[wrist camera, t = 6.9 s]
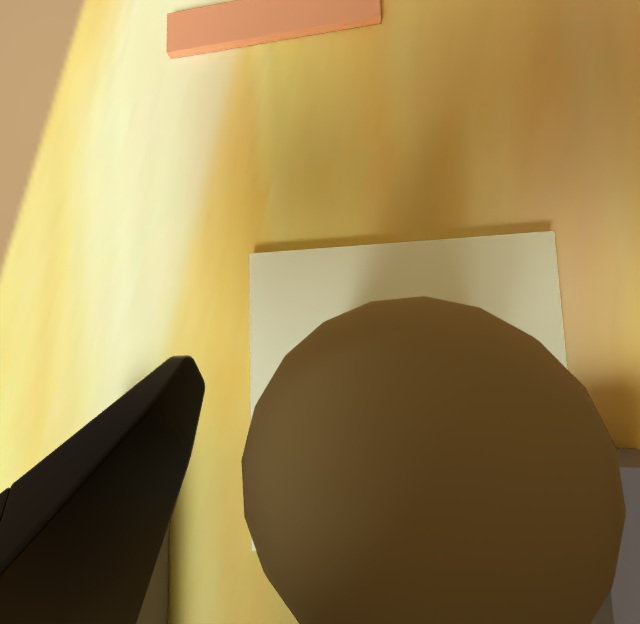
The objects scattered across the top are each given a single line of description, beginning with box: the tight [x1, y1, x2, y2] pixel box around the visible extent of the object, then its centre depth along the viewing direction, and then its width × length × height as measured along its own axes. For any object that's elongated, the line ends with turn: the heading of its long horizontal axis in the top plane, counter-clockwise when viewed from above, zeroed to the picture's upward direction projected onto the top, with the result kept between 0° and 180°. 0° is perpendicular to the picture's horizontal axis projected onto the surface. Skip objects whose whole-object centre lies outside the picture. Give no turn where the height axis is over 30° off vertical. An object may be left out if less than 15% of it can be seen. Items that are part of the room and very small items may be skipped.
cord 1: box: [591, 449, 640, 624], centre depth 12 cm, size 10×2×2 cm, turn 2°
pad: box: [249, 231, 567, 551], centre depth 15 cm, size 12×12×1 cm
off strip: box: [167, 0, 381, 59], centre depth 18 cm, size 2×10×1 cm, turn 92°
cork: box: [242, 296, 626, 624], centre depth 10 cm, size 6×6×11 cm
